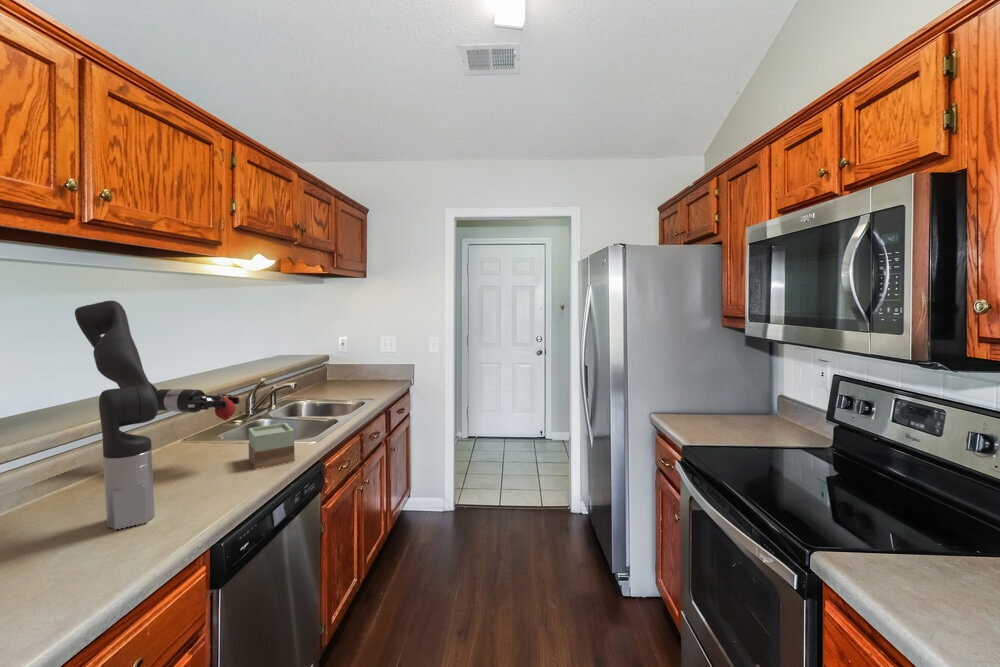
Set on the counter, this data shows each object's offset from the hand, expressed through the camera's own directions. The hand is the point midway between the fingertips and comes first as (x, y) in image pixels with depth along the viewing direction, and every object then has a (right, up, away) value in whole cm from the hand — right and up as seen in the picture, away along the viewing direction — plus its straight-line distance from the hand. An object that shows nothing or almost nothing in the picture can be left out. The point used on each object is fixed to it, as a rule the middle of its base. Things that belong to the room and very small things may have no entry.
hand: (232, 402), depth 147 cm
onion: (-3, -6, +1) cm, 7 cm away
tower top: (+9, -16, +8) cm, 20 cm away
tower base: (+9, -22, +8) cm, 25 cm away
